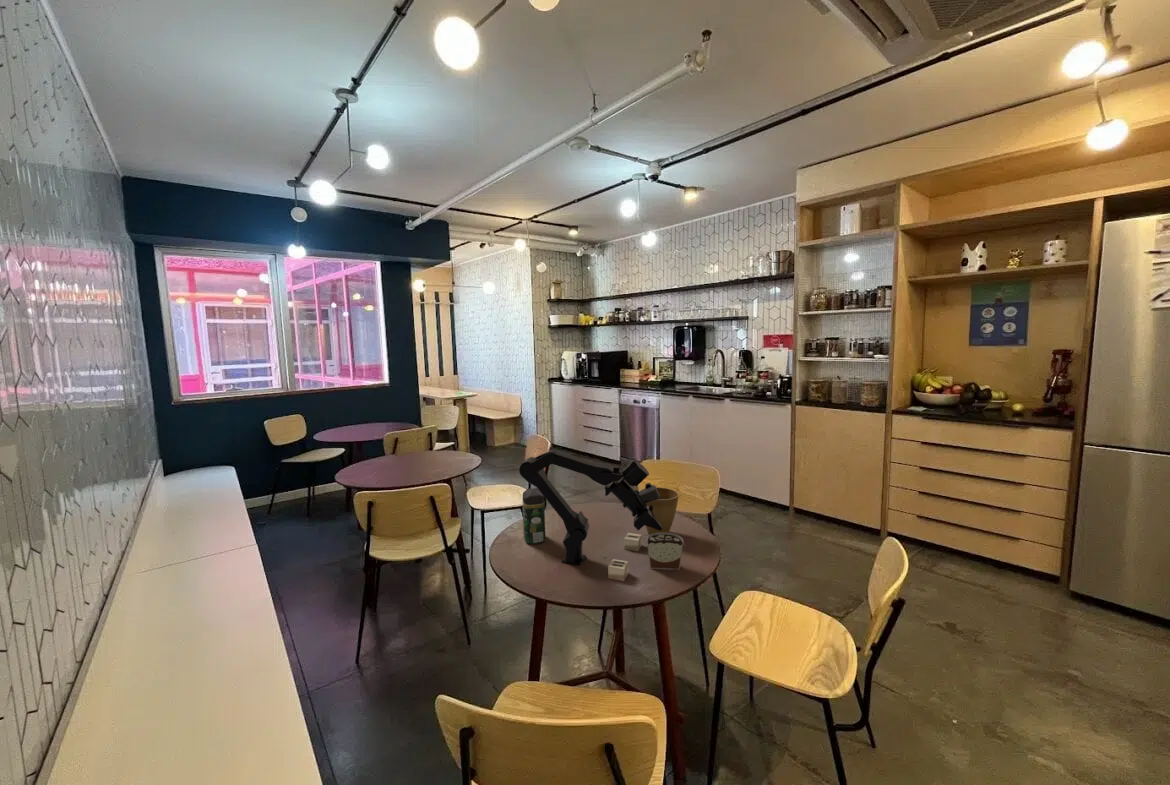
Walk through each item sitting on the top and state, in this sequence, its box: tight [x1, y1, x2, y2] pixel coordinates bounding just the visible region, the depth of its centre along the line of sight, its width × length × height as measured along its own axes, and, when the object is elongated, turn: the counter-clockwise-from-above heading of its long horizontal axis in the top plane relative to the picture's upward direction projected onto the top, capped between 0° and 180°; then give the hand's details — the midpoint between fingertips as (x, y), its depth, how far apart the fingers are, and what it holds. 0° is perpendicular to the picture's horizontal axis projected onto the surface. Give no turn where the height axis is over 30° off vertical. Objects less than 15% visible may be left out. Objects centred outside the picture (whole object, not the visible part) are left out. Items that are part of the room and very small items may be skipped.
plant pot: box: [638, 486, 680, 536], centre depth 177 cm, size 15×15×16 cm
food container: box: [645, 532, 686, 571], centre depth 153 cm, size 12×6×10 cm, turn 84°
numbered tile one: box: [623, 532, 642, 552], centre depth 167 cm, size 5×5×4 cm
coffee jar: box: [522, 487, 546, 545], centre depth 173 cm, size 10×8×19 cm
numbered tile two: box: [607, 558, 629, 582], centre depth 147 cm, size 5×5×4 cm
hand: (661, 529), depth 152 cm, fingers closed
